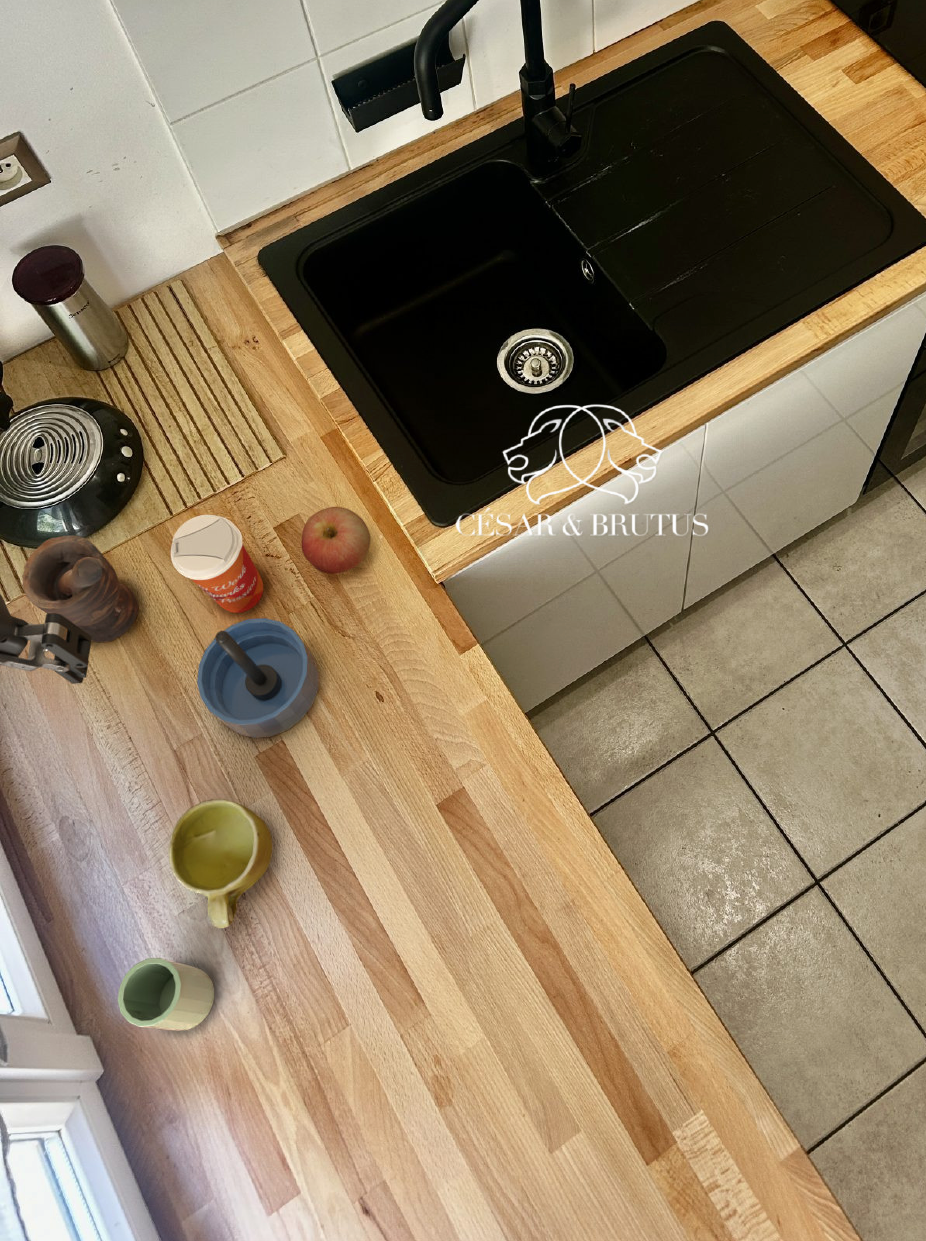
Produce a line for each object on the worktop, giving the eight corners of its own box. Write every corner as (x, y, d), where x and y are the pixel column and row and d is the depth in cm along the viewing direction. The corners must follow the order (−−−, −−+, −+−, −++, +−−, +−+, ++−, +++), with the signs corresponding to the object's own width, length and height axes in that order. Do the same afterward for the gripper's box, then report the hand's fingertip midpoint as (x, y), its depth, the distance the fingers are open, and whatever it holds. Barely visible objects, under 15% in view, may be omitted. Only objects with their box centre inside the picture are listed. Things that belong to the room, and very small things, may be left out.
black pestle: (248, 701, 130) (200, 653, 115) (251, 671, 131) (204, 619, 117) (280, 699, 130) (236, 651, 115) (282, 668, 131) (239, 617, 117)
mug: (179, 796, 124) (174, 796, 114) (277, 801, 126) (280, 801, 117) (161, 918, 120) (155, 928, 111) (263, 920, 123) (264, 931, 113)
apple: (373, 583, 137) (360, 556, 130) (306, 585, 137) (289, 558, 130) (378, 522, 140) (365, 492, 133) (313, 524, 140) (296, 494, 133)
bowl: (210, 742, 128) (192, 727, 123) (219, 640, 134) (203, 622, 129) (317, 735, 128) (304, 720, 123) (322, 633, 134) (309, 614, 129)
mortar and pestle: (177, 581, 138) (111, 508, 120) (162, 650, 133) (91, 585, 116) (82, 579, 138) (2, 506, 120) (64, 648, 134) (-21, 583, 116)
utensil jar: (153, 1032, 115) (114, 1028, 106) (160, 969, 117) (122, 960, 108) (211, 1028, 114) (177, 1024, 106) (217, 965, 117) (183, 956, 108)
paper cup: (209, 627, 135) (167, 581, 122) (206, 568, 138) (165, 518, 126) (276, 614, 135) (241, 566, 123) (271, 555, 139) (236, 504, 126)
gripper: (33, 551, 84) (120, 628, 98) (-160, 564, 84) (-46, 639, 99) (15, 649, 81) (108, 714, 95) (-187, 662, 81) (-64, 725, 95)
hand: (29, 675), depth 97 cm, fingers open, 8 cm apart
